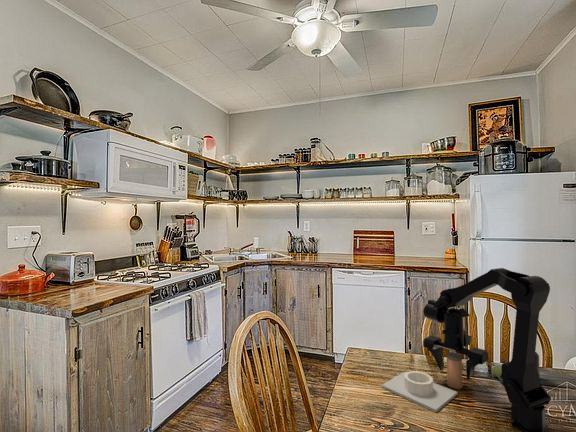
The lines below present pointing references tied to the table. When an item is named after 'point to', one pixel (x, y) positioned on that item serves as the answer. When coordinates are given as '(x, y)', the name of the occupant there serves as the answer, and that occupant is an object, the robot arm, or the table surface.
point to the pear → (497, 371)
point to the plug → (454, 370)
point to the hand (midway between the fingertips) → (454, 374)
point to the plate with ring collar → (420, 390)
